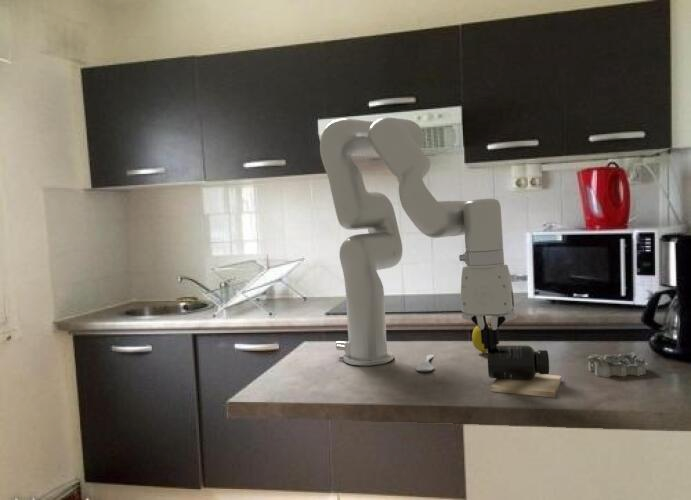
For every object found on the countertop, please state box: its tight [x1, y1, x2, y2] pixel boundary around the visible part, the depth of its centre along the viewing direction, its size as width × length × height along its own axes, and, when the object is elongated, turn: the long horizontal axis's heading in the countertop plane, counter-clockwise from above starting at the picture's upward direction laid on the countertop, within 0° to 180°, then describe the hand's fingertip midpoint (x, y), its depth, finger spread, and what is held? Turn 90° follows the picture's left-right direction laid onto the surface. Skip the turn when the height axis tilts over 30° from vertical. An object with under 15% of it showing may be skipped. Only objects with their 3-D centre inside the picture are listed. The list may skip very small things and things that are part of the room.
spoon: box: [415, 354, 435, 373], centre depth 135 cm, size 4×21×2 cm, turn 165°
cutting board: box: [490, 373, 562, 398], centre depth 113 cm, size 12×11×1 cm
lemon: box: [471, 323, 491, 355], centre depth 139 cm, size 6×6×8 cm
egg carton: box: [586, 351, 649, 378], centre depth 119 cm, size 11×8×4 cm
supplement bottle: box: [486, 344, 550, 380], centre depth 115 cm, size 7×7×12 cm
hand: (490, 347), depth 115 cm, fingers closed
